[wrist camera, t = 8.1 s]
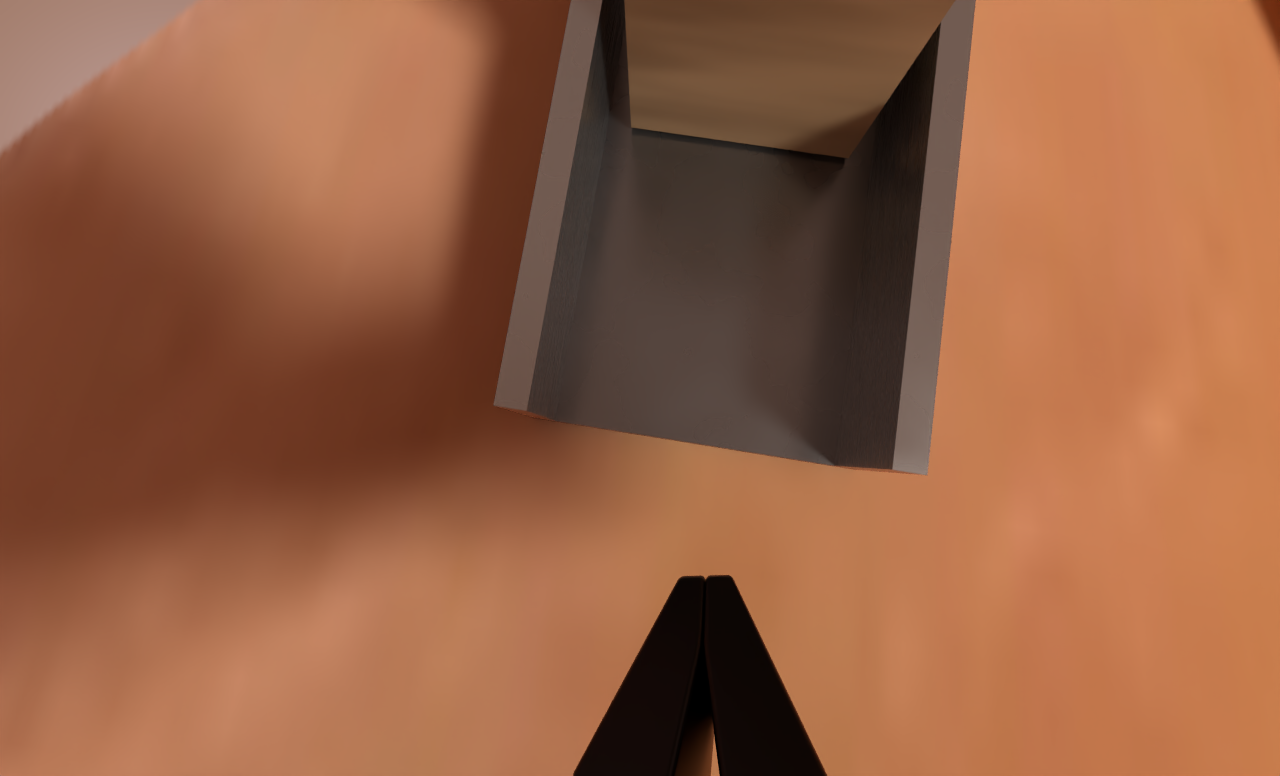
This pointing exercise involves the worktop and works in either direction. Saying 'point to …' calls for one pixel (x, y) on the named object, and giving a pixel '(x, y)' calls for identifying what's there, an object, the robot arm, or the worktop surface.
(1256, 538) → the worktop surface
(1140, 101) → the worktop surface
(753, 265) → the metal bay
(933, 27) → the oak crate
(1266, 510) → the worktop surface
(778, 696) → the robot arm
